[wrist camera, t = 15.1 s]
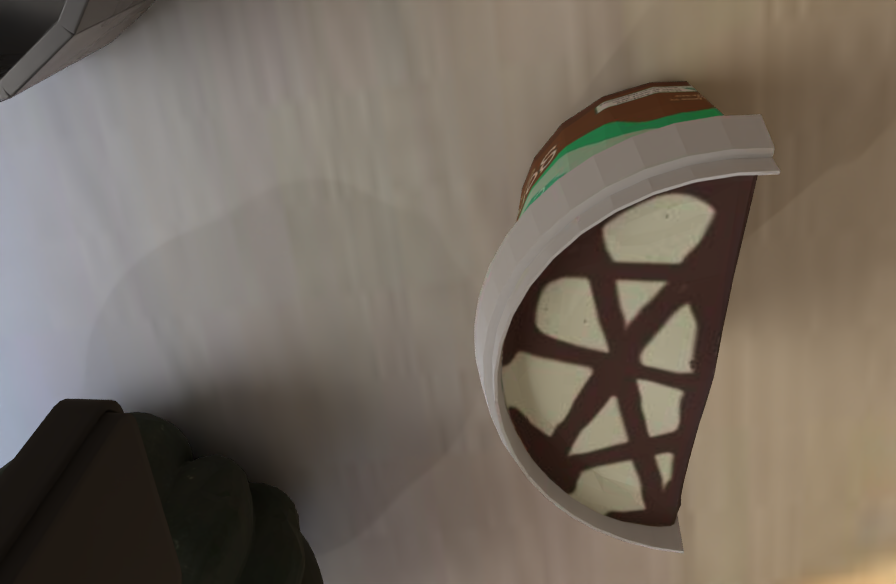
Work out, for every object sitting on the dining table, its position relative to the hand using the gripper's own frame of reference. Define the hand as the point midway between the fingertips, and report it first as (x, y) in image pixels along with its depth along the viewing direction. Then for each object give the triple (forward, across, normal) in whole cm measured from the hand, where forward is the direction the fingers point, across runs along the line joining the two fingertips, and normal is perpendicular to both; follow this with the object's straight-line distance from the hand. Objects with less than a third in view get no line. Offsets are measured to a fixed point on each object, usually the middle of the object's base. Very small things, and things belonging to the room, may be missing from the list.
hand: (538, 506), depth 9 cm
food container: (+19, -2, +5) cm, 20 cm away
